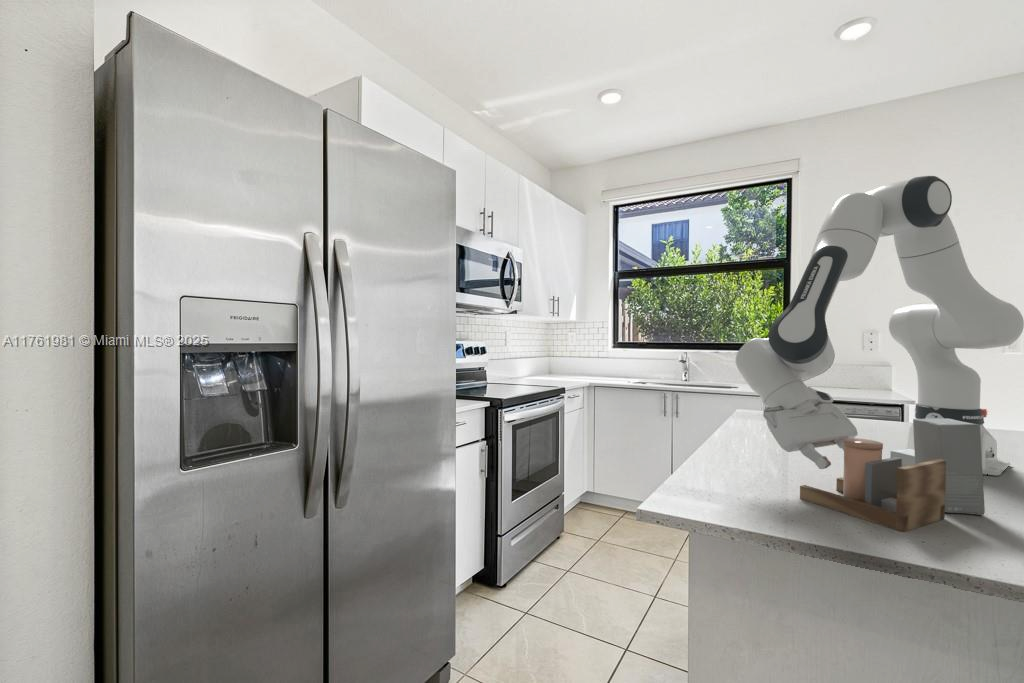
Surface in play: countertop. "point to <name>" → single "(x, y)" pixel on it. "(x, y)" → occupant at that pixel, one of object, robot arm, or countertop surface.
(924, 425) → the skincare box
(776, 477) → the countertop surface
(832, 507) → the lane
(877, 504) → the pusher
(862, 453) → the jar
